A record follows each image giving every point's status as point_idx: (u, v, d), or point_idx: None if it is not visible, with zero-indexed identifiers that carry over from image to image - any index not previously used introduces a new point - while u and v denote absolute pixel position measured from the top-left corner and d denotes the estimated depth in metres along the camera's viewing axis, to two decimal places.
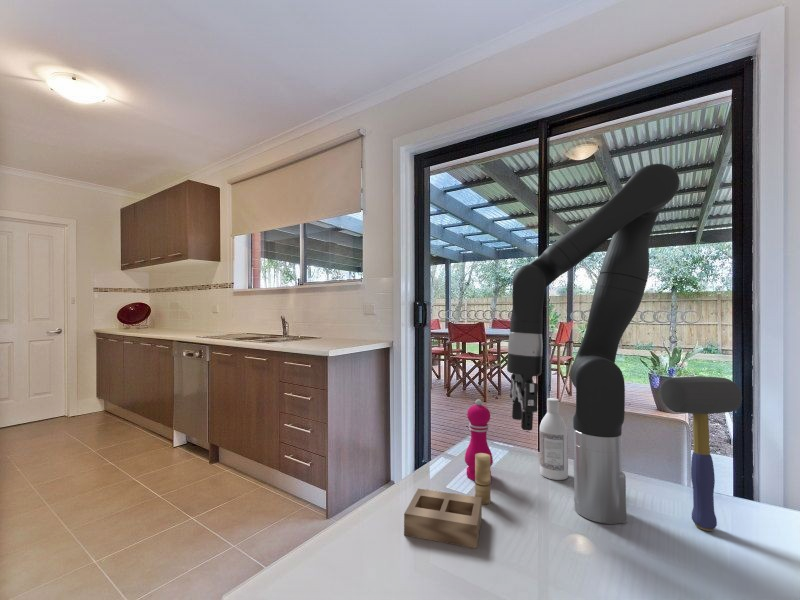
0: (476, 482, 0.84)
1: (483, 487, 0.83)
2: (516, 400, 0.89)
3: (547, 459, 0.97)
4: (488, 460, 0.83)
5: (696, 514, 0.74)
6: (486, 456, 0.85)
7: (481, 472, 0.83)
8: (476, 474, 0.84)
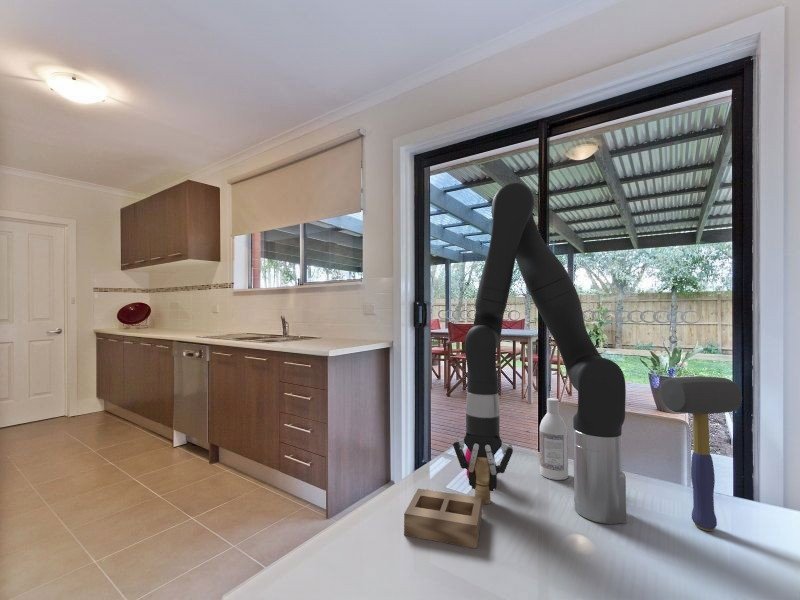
0: (476, 482, 0.84)
1: (483, 487, 0.83)
2: (474, 468, 0.85)
3: (547, 459, 0.97)
4: None
5: (696, 514, 0.74)
6: None
7: (481, 472, 0.83)
8: (476, 474, 0.84)
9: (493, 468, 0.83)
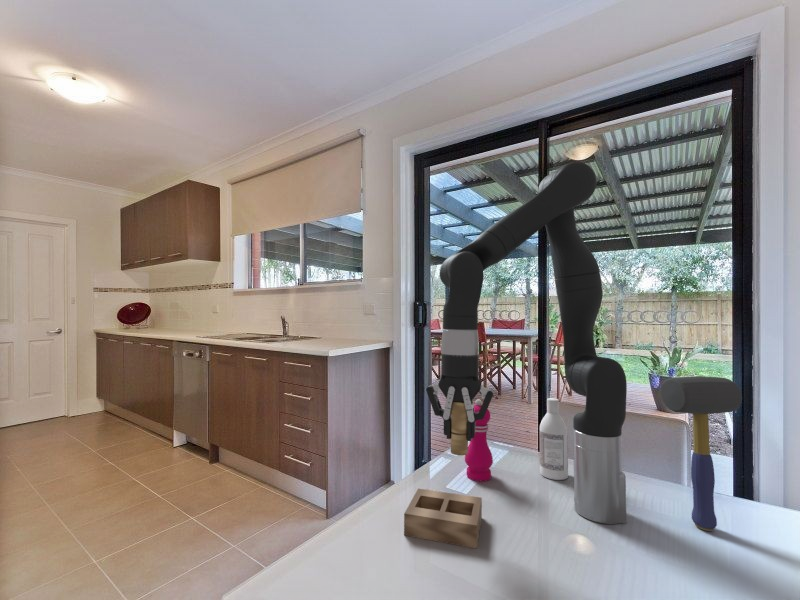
0: (451, 431, 0.74)
1: (459, 436, 0.72)
2: (449, 415, 0.75)
3: (547, 459, 0.97)
4: None
5: (696, 514, 0.74)
6: None
7: (457, 419, 0.73)
8: (451, 422, 0.74)
9: (471, 414, 0.72)
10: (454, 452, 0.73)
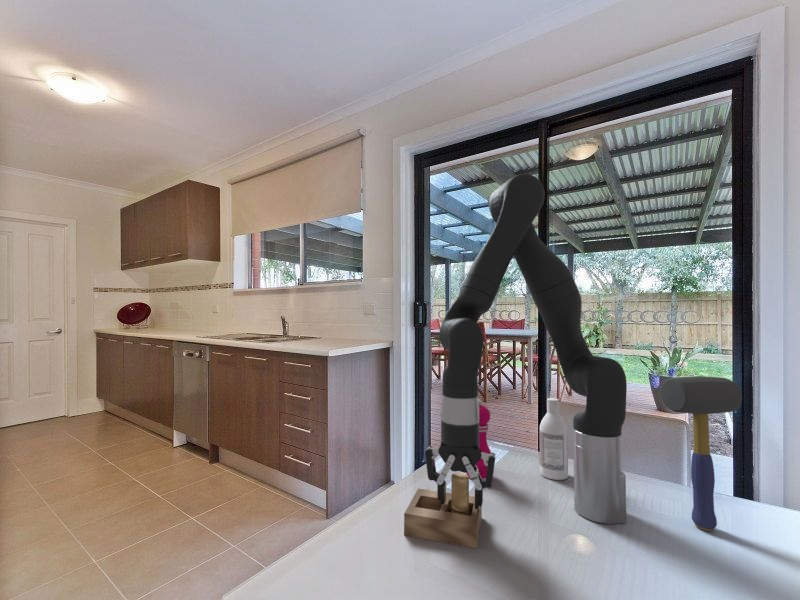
0: (452, 507, 0.73)
1: (460, 513, 0.71)
2: (443, 480, 0.74)
3: (547, 459, 0.97)
4: (466, 482, 0.72)
5: (696, 514, 0.74)
6: (464, 476, 0.73)
7: (457, 496, 0.72)
8: (452, 498, 0.73)
9: (477, 482, 0.71)
10: None
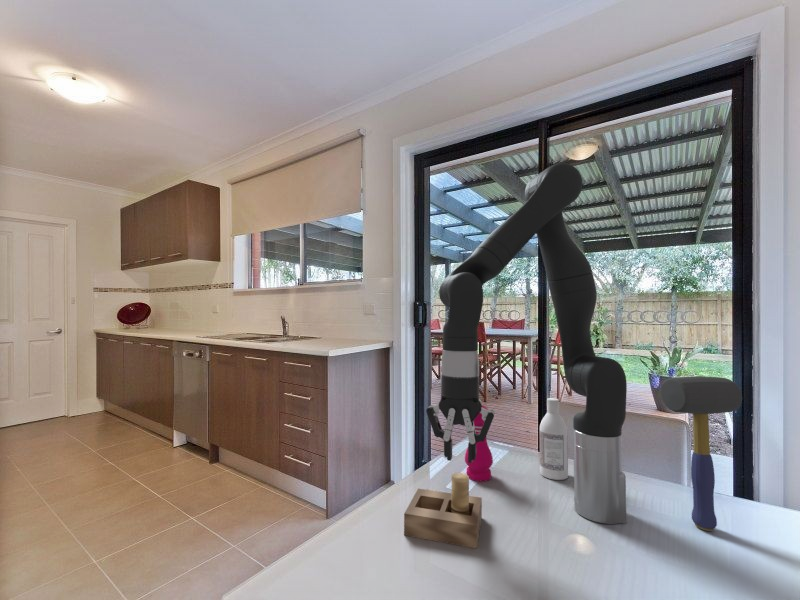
0: (452, 507, 0.73)
1: (460, 513, 0.71)
2: (450, 437, 0.74)
3: (547, 459, 0.97)
4: (466, 482, 0.72)
5: (696, 514, 0.74)
6: (464, 476, 0.73)
7: (457, 496, 0.72)
8: (452, 498, 0.73)
9: (472, 436, 0.72)
10: None
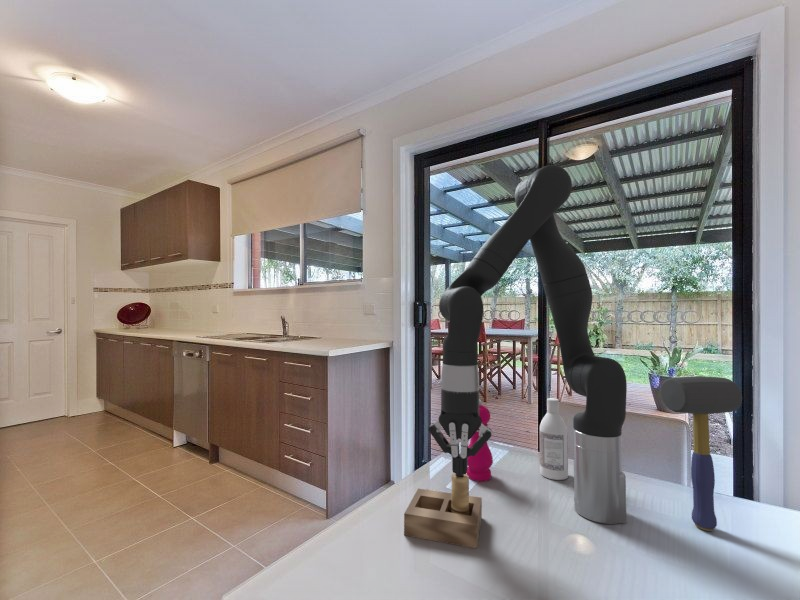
0: (452, 507, 0.73)
1: (460, 513, 0.71)
2: (458, 452, 0.73)
3: (547, 459, 0.97)
4: (466, 482, 0.72)
5: (696, 514, 0.74)
6: (464, 476, 0.73)
7: (457, 496, 0.72)
8: (452, 498, 0.73)
9: (464, 451, 0.72)
10: None
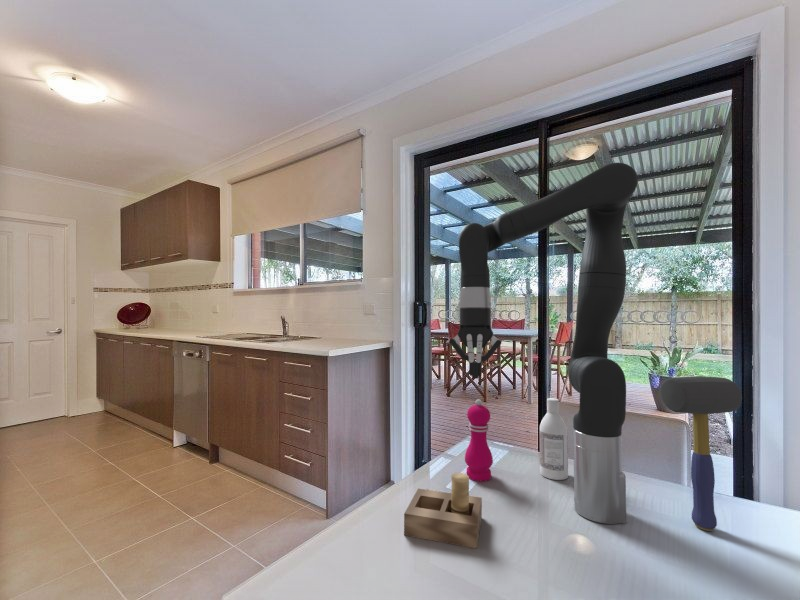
0: (452, 507, 0.73)
1: (460, 513, 0.71)
2: (474, 359, 0.90)
3: (547, 459, 0.97)
4: (466, 482, 0.72)
5: (696, 514, 0.74)
6: (464, 476, 0.73)
7: (457, 496, 0.72)
8: (452, 498, 0.73)
9: (479, 356, 0.89)
10: None
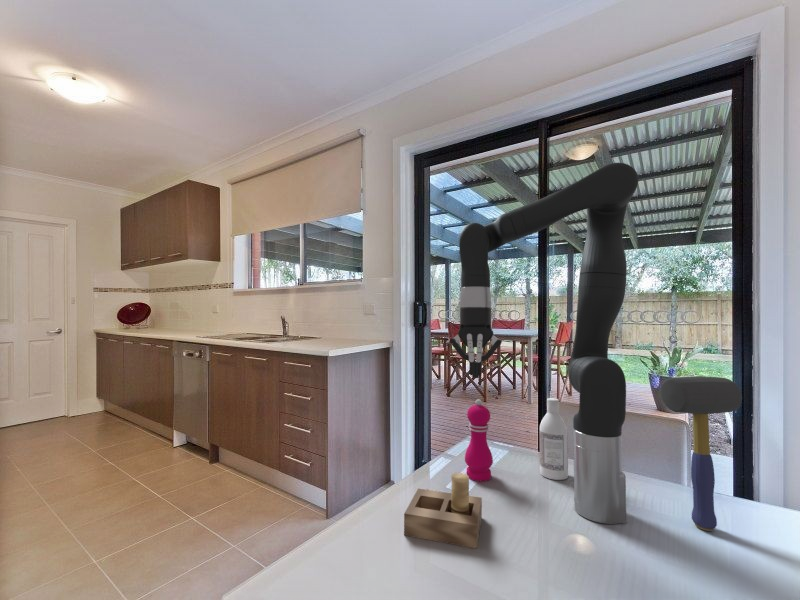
0: (452, 507, 0.73)
1: (460, 513, 0.71)
2: (474, 359, 0.90)
3: (547, 459, 0.97)
4: (466, 482, 0.72)
5: (696, 514, 0.74)
6: (464, 476, 0.73)
7: (457, 496, 0.72)
8: (452, 498, 0.73)
9: (479, 356, 0.89)
10: None
